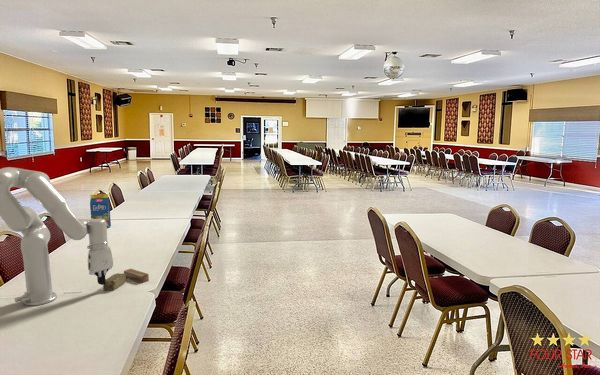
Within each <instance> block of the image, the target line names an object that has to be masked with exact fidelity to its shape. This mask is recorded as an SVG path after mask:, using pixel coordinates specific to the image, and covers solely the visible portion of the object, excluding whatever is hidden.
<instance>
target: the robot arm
mask: <svg viewBox="0 0 600 375" xmlns="http://www.w3.org/2000/svg"><path fill="white" fill-rule="evenodd" d="M11 188H19V189H26V190H27V191H28V193H29V194H30V195H31V196H33V198H34V199H35V200H36V201H37V203H39V204H40V206H41V207H43V209H44V210H45V211H46V212H47V213H48V215H49V216H50V217H51V219H52V220H53V221H54V223H55V225H57V227H58V228H59V229H60V230H61V231H62V232H63V233H64V234H65V235H66V236H67V237H68V238H70V239H71V240H73V241H80V240H83V239H84V238H85V237H86V236H87V235H88V239H89V240H88V243H89V244H88V245H87V246H86V248H87V249H89V250H88V253H87V269H88V274H89V275H90V276H96V277H97V278H96V279H97V284H98V285H101V286H103V284H105V281H106V279H107V278H106V276H107V274H108V271H110V270H111V269H113V267H114V260H113V259H114V258H113V253H112V249H111V247H110V246H109V242H108V230H107V229H108V228H107V227H106V221H105V220H104V219H92V220H91V219H83V218H79V219H77V217H76V216H75V215H74V214H73V213H72V211H71V210H70V208H69V205H68V202H67V201H66V199H65V197H64V196H63V195H62V194H61V193H60V191H58V190H57V189H56V187H55V186H53V184H52V183H51V179H50V177H49V175H48V174H47V173H45V172H42V171H37V170H30V169H26V168H25V169H24V168H20V167H13V166H12V167H11V166H10V167H9V166H8V167H2V168H0V218H1V219H2V221H3V222H4V223H5V224H6V226H7V227H8V228H9V229H10V230H11V231H13V232H17V233H21V234H22V235H23V236H22V237H21V239H20V240H21V241H20V252H21V255H22V261H23V268H24V269H23V270H24V279H25V285H26V286H25V288H26V291H24V292H23V294H22V295H21V296H17V297H15V298H14V299H13V300H14V302H15V303H19V302H21V303H23V304H24V305H25V306H40V305H45V304H47V303H50V302H52V301H54V300H56V298H57V297H58V294H57V292H53V283H52V273H51V272H52V271H51V265H50V264H51V263H50V256H49V255H50V254H49V248H48V243H49V242H50V240H51V232H50V229H48V227H47V225H45V223H44V221H43V220H42V219H41V217H40V216H39V214H37V212H36V211H35V210H33V209H32V208H31V207H30V206H25V205H22V204H21V203H20V202H19V201H18V199H17V198H16V197H15V195H14V194H12V192H11Z"/></svg>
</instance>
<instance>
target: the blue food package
mask: <svg viewBox="0 0 600 375" xmlns="http://www.w3.org/2000/svg"><path fill="white" fill-rule="evenodd" d="M89 196H90V200H89V208H90V209H89V210H90V220H92V219H104V220H105V221H106V227H107V229H110V228H111V226H112V221H111V208H110V207H111V206H110V205H111V204H110V198H109V194H108V193H105V194H90V195H89Z"/></svg>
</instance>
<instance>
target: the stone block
mask: <svg viewBox="0 0 600 375" xmlns="http://www.w3.org/2000/svg"><path fill="white" fill-rule="evenodd" d="M105 279H106V281H105V284H103V285H102V286H103V290H104V291H115V290H116V289H118V288H119V287H121V286H123V285H124V284H125V283H126V279H127V278H126V276H125V274H124V272H123V273H119V272H118V273H115V274H112V275H111V276H109V277H107V278H105Z"/></svg>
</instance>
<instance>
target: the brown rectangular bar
mask: <svg viewBox="0 0 600 375" xmlns="http://www.w3.org/2000/svg"><path fill="white" fill-rule="evenodd" d="M123 273H124V274H125V276H126V279H128V280H132V281H134V282H137V283H140V284H143V283H146V282H149V281H150V280H149V279H150V277H149V273H146V272H143V271H140V270H137V269H133V268H128V269H125V270H123Z"/></svg>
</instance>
